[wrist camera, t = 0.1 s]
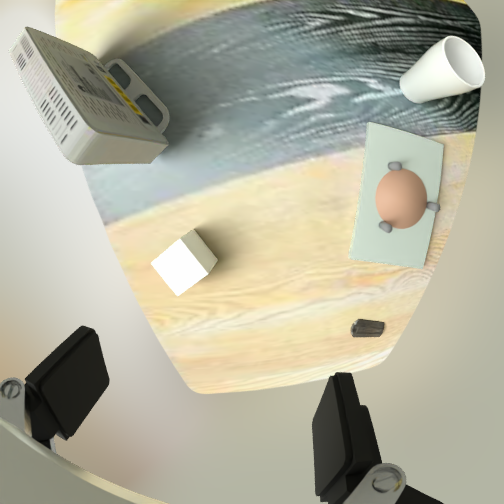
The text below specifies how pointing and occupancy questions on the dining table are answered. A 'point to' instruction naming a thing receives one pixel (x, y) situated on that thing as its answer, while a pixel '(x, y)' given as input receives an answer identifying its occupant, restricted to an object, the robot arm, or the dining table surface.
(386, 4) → the dining table surface
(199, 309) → the dining table surface
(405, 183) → the pin nest plate
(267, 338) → the dining table surface
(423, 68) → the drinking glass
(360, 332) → the block
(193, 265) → the white cube
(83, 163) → the network device
